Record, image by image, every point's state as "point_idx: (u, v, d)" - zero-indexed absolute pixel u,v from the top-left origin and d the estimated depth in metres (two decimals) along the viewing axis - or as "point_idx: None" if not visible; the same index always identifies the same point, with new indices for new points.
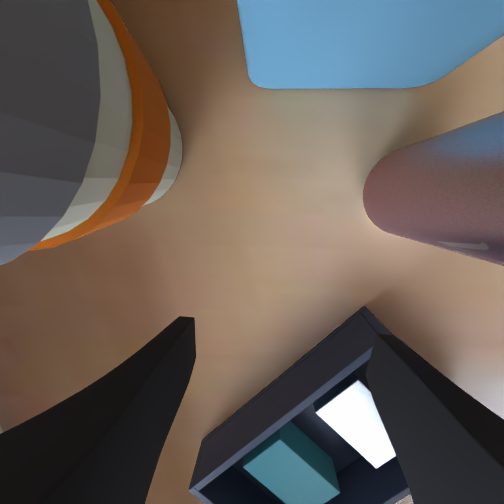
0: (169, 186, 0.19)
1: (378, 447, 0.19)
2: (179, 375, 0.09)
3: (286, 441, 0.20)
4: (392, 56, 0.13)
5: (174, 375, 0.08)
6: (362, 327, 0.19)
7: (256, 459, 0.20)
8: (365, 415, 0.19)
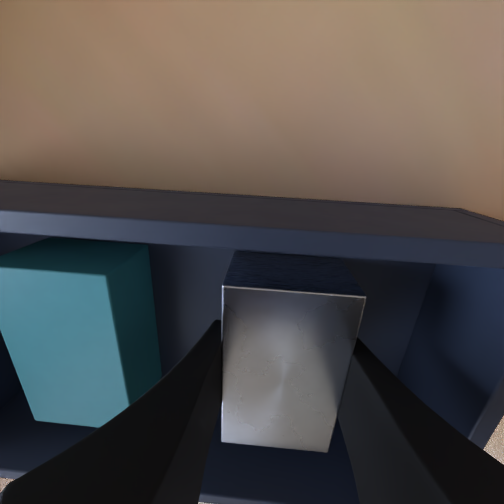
0: None
1: (259, 420, 0.09)
2: (220, 379, 0.09)
3: (116, 291, 0.08)
4: None
5: (218, 379, 0.08)
6: (469, 220, 0.07)
7: (19, 273, 0.08)
8: (299, 363, 0.08)
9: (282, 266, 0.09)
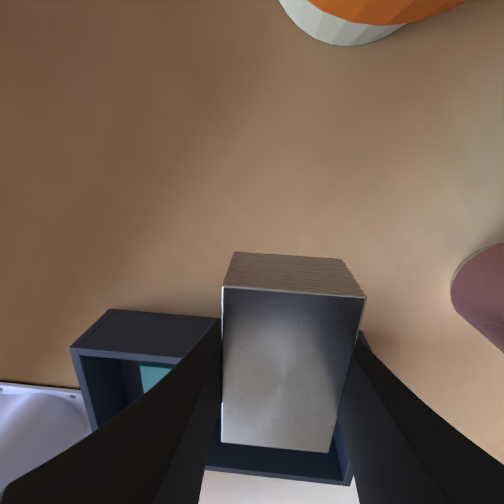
0: (354, 43, 0.13)
1: (259, 420, 0.09)
2: (220, 379, 0.09)
3: None
4: None
5: (218, 379, 0.08)
6: None
7: (159, 369, 0.18)
8: (299, 363, 0.08)
9: (282, 267, 0.09)
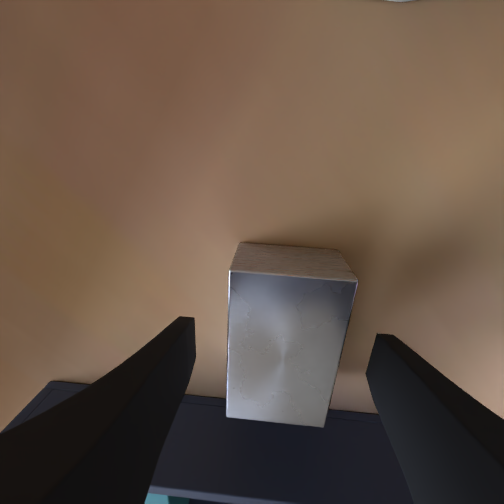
0: None
1: (261, 396, 0.10)
2: (179, 375, 0.09)
3: None
4: None
5: (174, 375, 0.08)
6: (392, 455, 0.12)
7: None
8: (297, 342, 0.09)
9: (283, 255, 0.10)
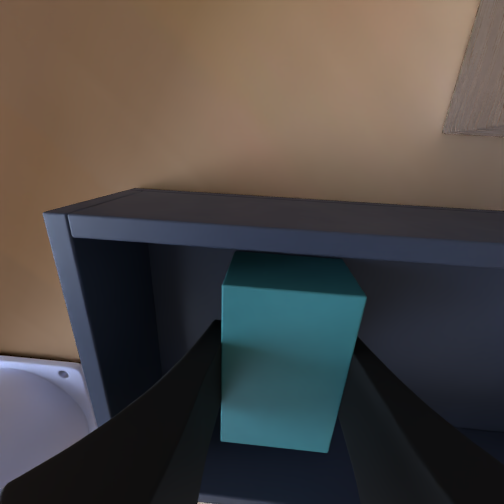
0: None
1: None
2: (220, 379, 0.09)
3: (359, 312, 0.08)
4: None
5: (217, 379, 0.08)
6: None
7: (269, 294, 0.07)
8: None
9: None
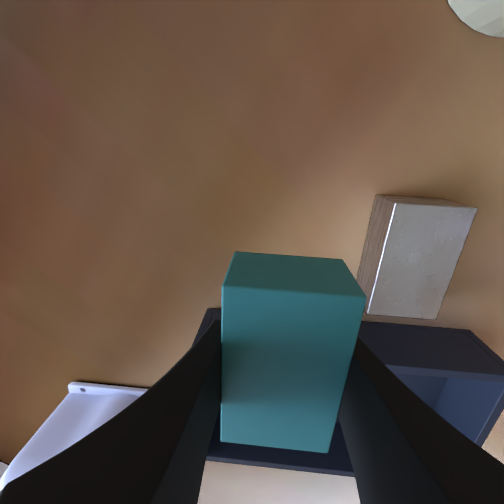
0: None
1: (396, 295, 0.15)
2: (220, 379, 0.09)
3: (359, 312, 0.08)
4: None
5: (217, 379, 0.08)
6: (474, 348, 0.17)
7: (269, 294, 0.07)
8: (430, 253, 0.14)
9: (415, 199, 0.15)
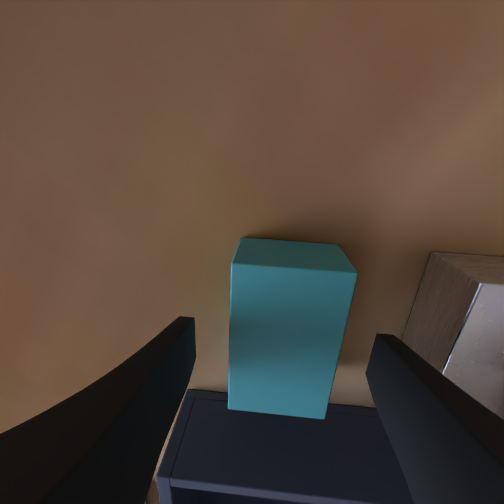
0: None
1: None
2: (179, 375, 0.09)
3: (351, 288, 0.09)
4: None
5: (174, 375, 0.08)
6: None
7: (272, 270, 0.08)
8: None
9: (500, 266, 0.09)
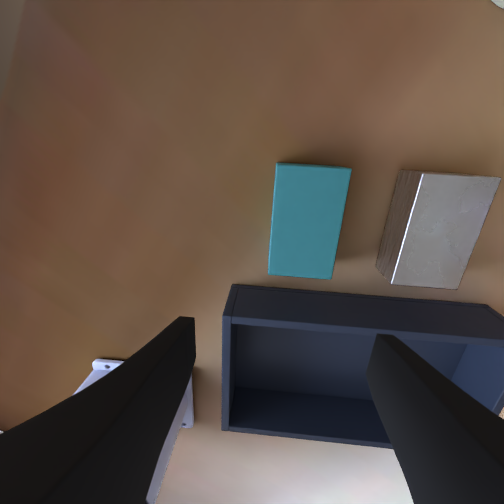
0: None
1: (420, 265, 0.16)
2: (179, 375, 0.09)
3: (348, 182, 0.15)
4: None
5: (174, 375, 0.08)
6: (492, 319, 0.18)
7: (301, 168, 0.14)
8: (454, 223, 0.15)
9: (439, 172, 0.15)
